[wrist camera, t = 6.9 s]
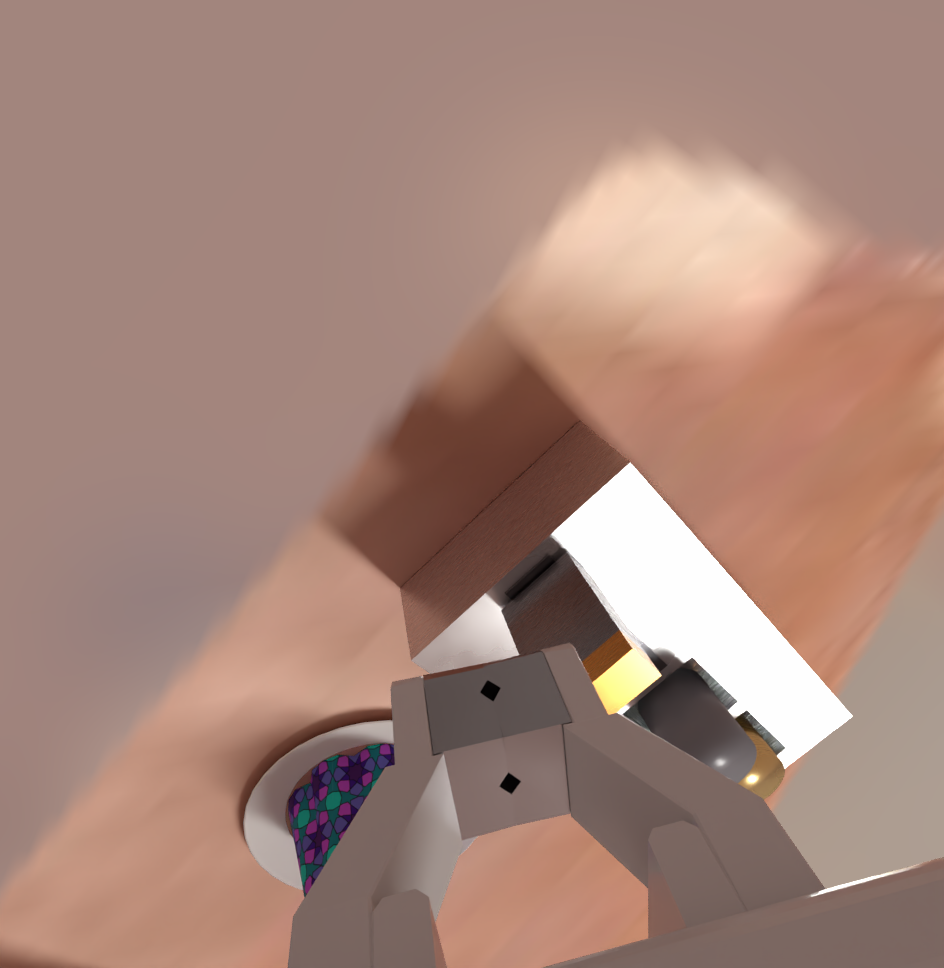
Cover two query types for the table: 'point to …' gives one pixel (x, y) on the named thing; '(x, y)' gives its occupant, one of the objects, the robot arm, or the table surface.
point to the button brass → (761, 764)
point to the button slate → (698, 724)
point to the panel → (616, 591)
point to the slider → (581, 631)
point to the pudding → (315, 800)
